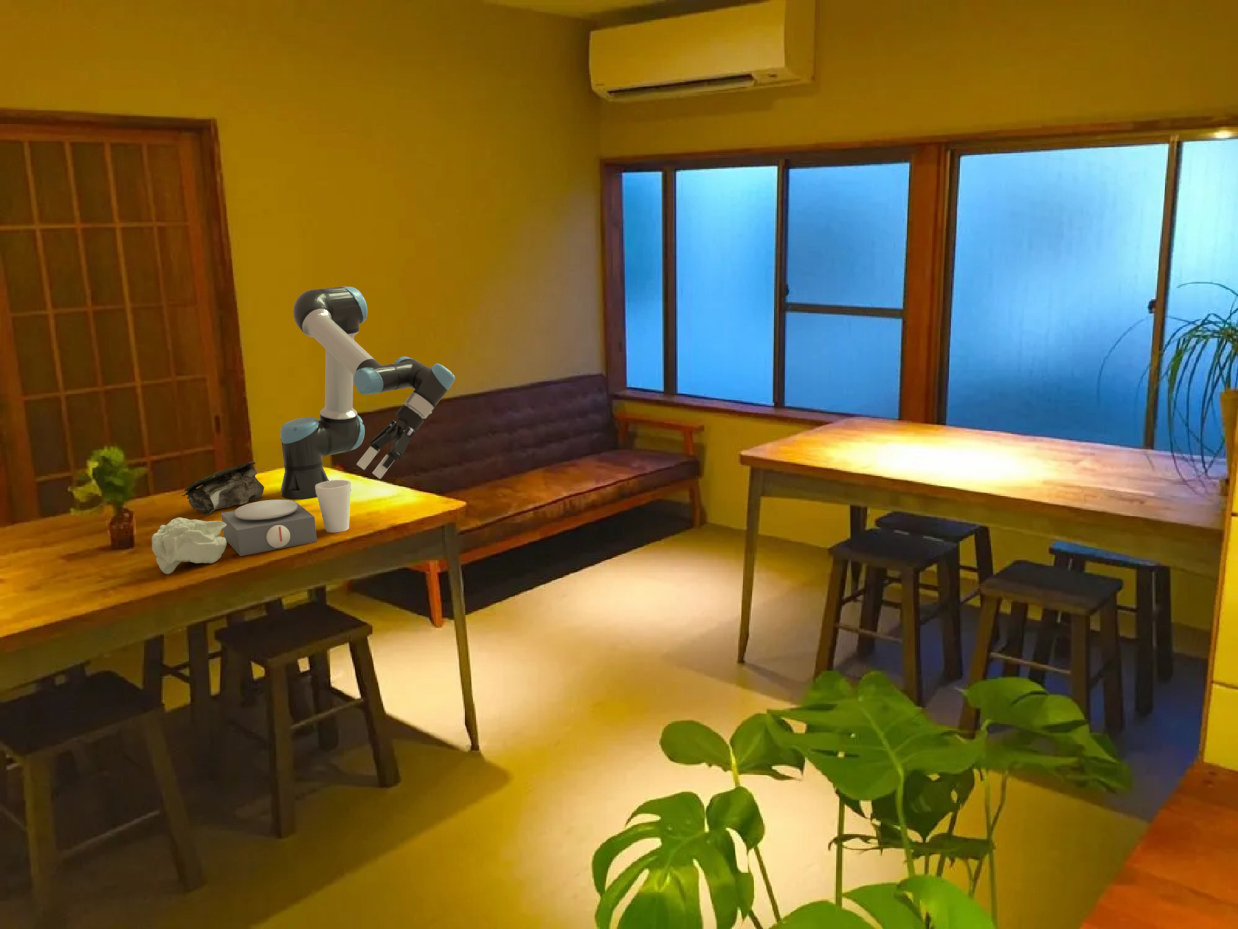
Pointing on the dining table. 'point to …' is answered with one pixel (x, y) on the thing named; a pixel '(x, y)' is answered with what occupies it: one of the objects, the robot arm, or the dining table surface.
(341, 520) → the foam cup
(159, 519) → the dining table surface
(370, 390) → the robot arm
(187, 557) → the wavy plaster lump
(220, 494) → the weathered wood log
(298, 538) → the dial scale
